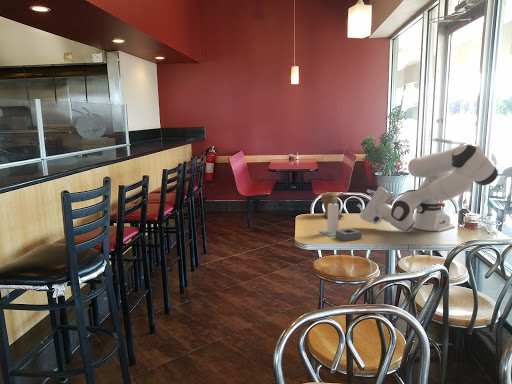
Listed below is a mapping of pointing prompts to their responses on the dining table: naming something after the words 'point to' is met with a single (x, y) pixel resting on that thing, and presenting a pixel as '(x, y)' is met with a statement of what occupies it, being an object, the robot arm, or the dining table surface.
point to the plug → (332, 217)
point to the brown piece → (327, 200)
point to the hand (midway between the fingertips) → (362, 197)
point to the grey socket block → (348, 234)
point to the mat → (328, 233)
